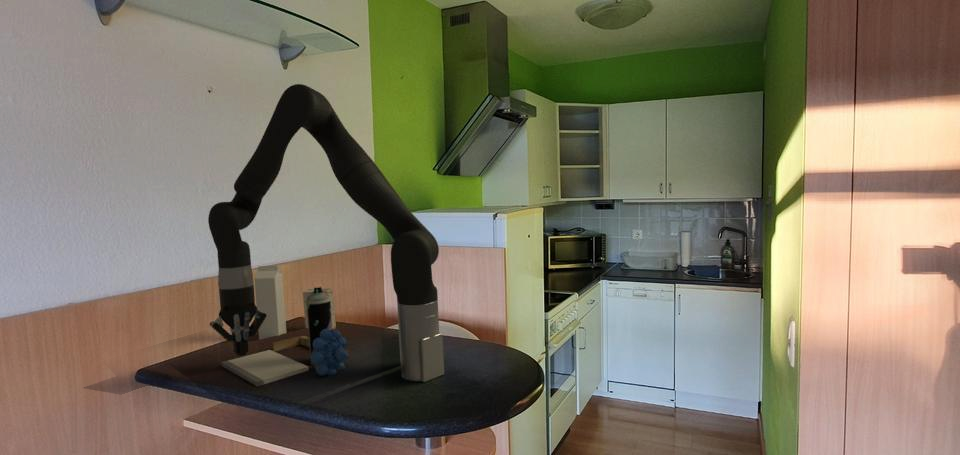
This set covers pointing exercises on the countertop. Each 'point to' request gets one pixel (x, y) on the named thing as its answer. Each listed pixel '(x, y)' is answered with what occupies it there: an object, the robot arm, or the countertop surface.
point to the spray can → (318, 315)
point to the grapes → (329, 352)
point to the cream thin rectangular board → (264, 367)
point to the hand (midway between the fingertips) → (241, 355)
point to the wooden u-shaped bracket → (294, 344)
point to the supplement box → (330, 292)
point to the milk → (270, 301)
